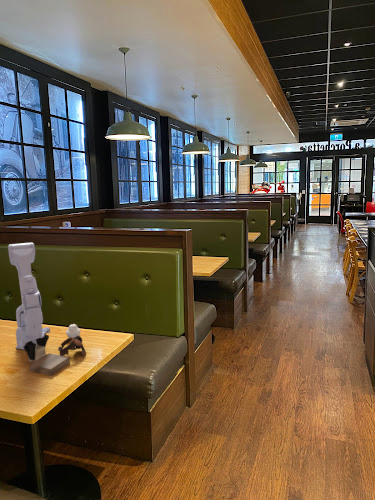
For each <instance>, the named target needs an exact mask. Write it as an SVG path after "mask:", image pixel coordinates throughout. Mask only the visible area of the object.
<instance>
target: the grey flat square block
mask: <svg viewBox="0 0 375 500" xmlns="http://www.w3.org/2000/svg"><path fill="white" fill-rule="evenodd" d="M70 364H71V361H70V356H65V355H62V356H61V355H60V354H56V353H55V354H54V353H46V355H45V356H43V357H41V358H40V359H38V360H36V361H35V362H30V363H29V372H32V373H37V374H42V375H47V376H51V377H52V376H54V375H55V374H57V373H58V372H60V370H62V369H64V368H65V367H67V366H68V365H70Z"/></svg>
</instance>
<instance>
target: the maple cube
mask: <svg viewBox="0 0 375 500" xmlns="http://www.w3.org/2000/svg"><path fill="white" fill-rule="evenodd" d="M46 354H47V353H46V347H45V346H40V345H36V347H35V360H30V359H29V356H28V355H27V358H28V360H27V361H28V362H29V363H33V362H35V361H36V360H38V359H40V358H41V357H43V356H45V355H46Z"/></svg>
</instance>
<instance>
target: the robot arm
mask: <svg viewBox="0 0 375 500" xmlns="http://www.w3.org/2000/svg"><path fill="white" fill-rule="evenodd" d="M7 251H8V256H9V263H10V265H12V266H15V268H16V270H17V273H18V274H17V275H18V281H19V290H20V296H21V305H19V306H18V307H17V308H16V311H15V314H16V315H15V317H16V325H17V328H16V330H15V339H16V346H15V349H18V350H19V349H20V350H25V352H26V354H27V357H28V356H29V359H30V360H35V347H36V345H40V346H45V348H46V346H47V343H48V341H49V339H50V335H49V333H51V327H43V322H44V317H43V311H42V297H41V293H40V291H39V289H38V285H37V280H36V277H34V275H32V266H31V264H32V263H34V262H35V259H36V247H35V243H34V242H32V241H31V242H24V243H11V244H10V243H9V244H8V245H7Z"/></svg>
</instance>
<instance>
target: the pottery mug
mask: <svg viewBox="0 0 375 500" xmlns="http://www.w3.org/2000/svg"><path fill="white" fill-rule="evenodd" d="M68 343H69V344H68ZM66 345H67V346H66ZM57 348H58V349H57V350H58V351H59V355H61V356H65V355H67V356H70V354H69V352H70V351H76V350H81V353H80V354H81V355H82V358H85V356H86V354H87V352H86V349H85V347H84V345H83V338H82V337H81V335H79V336H76V337H74V338H73V337H70V338H68V337H67V338H66V339H64V340H63V342H61V343H60V345H59V346H58V347H57Z"/></svg>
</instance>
